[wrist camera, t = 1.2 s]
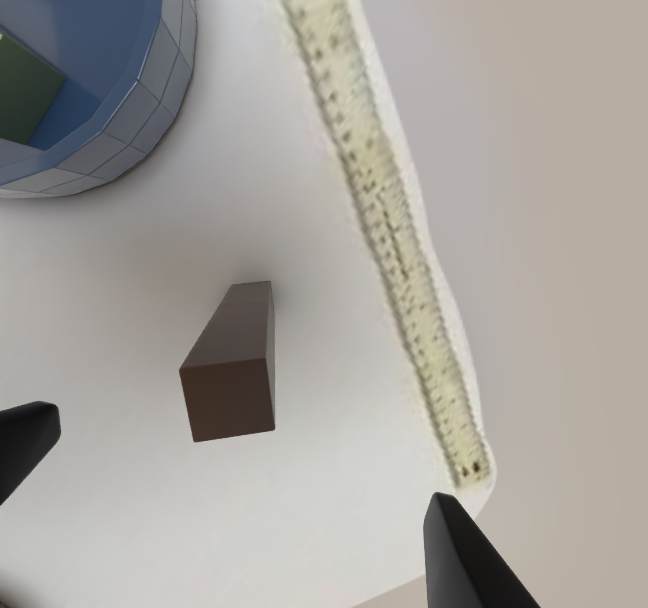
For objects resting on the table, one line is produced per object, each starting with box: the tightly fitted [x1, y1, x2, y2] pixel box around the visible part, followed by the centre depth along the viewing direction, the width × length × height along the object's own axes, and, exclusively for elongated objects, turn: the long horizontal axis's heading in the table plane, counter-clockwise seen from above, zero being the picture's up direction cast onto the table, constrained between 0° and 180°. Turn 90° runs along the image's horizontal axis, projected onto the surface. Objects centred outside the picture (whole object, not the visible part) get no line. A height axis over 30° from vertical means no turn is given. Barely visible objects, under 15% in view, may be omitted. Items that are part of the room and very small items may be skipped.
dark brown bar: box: [179, 281, 275, 442], centre depth 15 cm, size 2×2×12 cm
